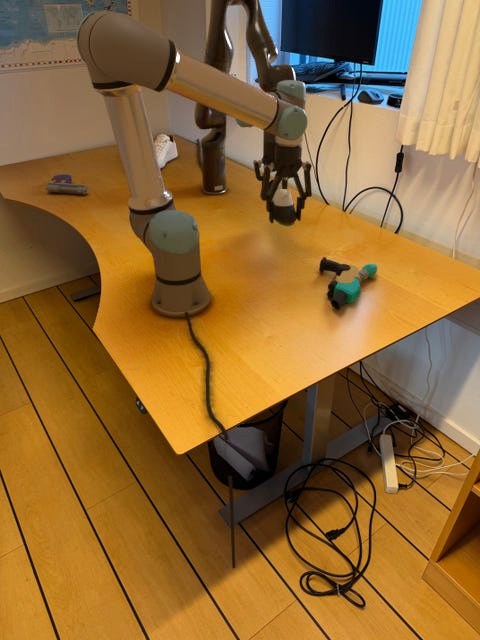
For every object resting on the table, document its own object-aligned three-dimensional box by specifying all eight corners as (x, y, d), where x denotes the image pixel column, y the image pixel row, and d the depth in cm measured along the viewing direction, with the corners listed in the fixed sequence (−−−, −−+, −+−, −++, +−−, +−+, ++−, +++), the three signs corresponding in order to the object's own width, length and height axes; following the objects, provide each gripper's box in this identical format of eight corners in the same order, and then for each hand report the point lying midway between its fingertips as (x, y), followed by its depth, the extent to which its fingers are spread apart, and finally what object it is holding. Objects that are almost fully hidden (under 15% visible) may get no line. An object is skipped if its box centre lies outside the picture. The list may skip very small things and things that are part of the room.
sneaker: (133, 173, 208) (129, 144, 201) (161, 153, 230) (158, 127, 223) (155, 175, 205) (151, 146, 198) (180, 155, 227) (178, 129, 220)
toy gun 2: (296, 289, 121) (353, 304, 115) (329, 248, 140) (380, 259, 134) (295, 304, 124) (351, 319, 118) (328, 261, 142) (377, 273, 136)
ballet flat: (274, 228, 141) (275, 201, 136) (256, 199, 160) (257, 175, 156) (301, 226, 142) (303, 199, 137) (280, 197, 161) (281, 173, 157)
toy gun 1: (101, 183, 198) (84, 197, 186) (60, 181, 201) (41, 194, 189) (99, 174, 195) (82, 188, 184) (58, 172, 199) (39, 185, 187)
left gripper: (320, 137, 136) (313, 212, 149) (249, 141, 133) (249, 218, 146) (328, 144, 130) (321, 222, 143) (255, 149, 127) (254, 228, 140)
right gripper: (294, 133, 150) (292, 185, 159) (250, 136, 147) (250, 189, 157) (301, 139, 144) (298, 193, 153) (255, 143, 141) (255, 197, 151)
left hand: (284, 220), depth 145 cm, fingers closed on ballet flat, 8 cm apart
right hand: (274, 191), depth 155 cm, fingers closed on ballet flat, 5 cm apart
